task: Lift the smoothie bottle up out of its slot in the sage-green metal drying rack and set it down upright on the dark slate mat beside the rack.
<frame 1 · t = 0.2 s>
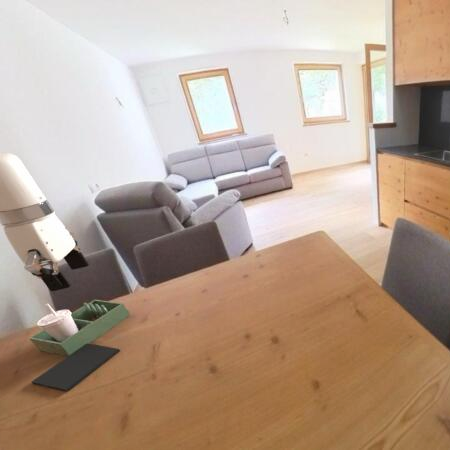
hand: (71, 277, 67), 26 cm above the table, tool pointing down, fingers open, 9 cm apart
rack: (88, 331, 86), on the table
mat: (78, 366, 74), on the table
smoothie: (73, 341, 82), resting in rack
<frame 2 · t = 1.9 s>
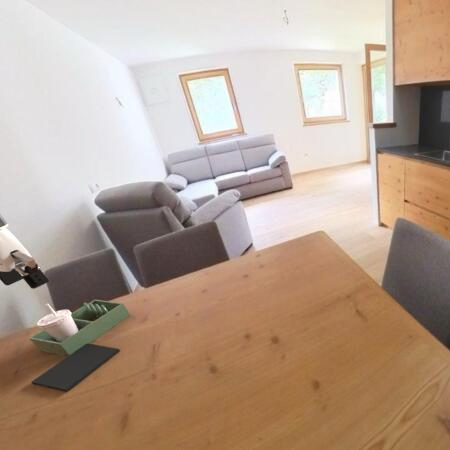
hand: (27, 283, 73), 21 cm above the table, tool pointing down, fingers open, 9 cm apart
nothing on the table moved.
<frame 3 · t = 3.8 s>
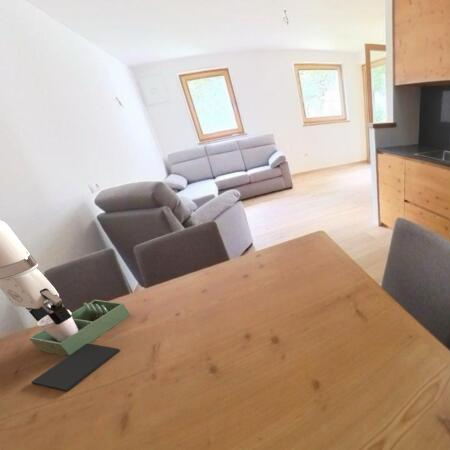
hand: (54, 318, 78), 9 cm above the table, tool pointing down, fingers closed on smoothie, 6 cm apart
smoothie: (73, 341, 82), resting in rack, touching gripper
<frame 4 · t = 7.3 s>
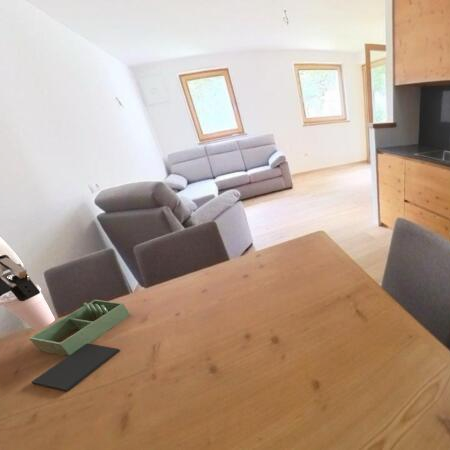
hand: (19, 295, 64), 24 cm above the table, tool pointing down, fingers closed on smoothie, 6 cm apart
smoothie: (44, 324, 68), point 15 cm above the table, touching gripper
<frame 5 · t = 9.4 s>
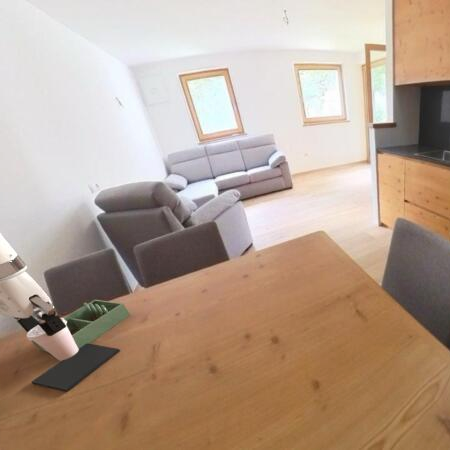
hand: (47, 329, 68), 14 cm above the table, tool pointing down, fingers closed on smoothie, 6 cm apart
smoothie: (69, 354, 72), point 5 cm above the table, touching gripper
when the fingers open (10 cm above the table, at t = 10.9 s): smoothie stays where it is, resting on mat.
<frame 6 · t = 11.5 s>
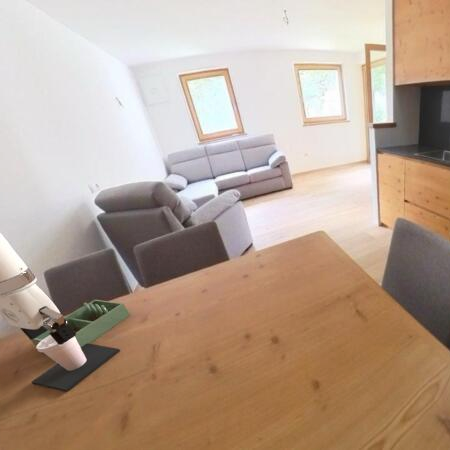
hand: (53, 337, 69), 11 cm above the table, tool pointing down, fingers open, 9 cm apart
smoothie: (77, 364, 74), point 1 cm above the table, touching mat
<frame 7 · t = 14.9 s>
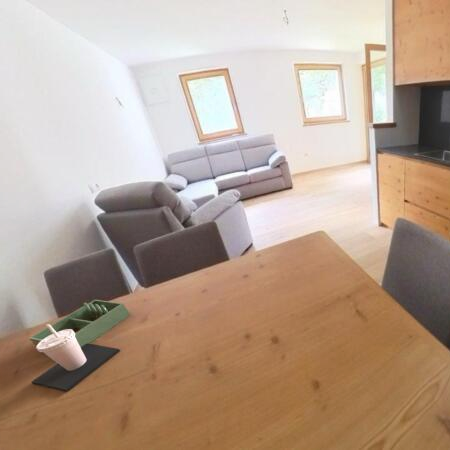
nothing on the table moved.
at the end: smoothie inside the target area on the mat (0.1 cm from its centre), point 0.6 cm above the mat's base; smoothie tilted 0°; smoothie touching mat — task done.
